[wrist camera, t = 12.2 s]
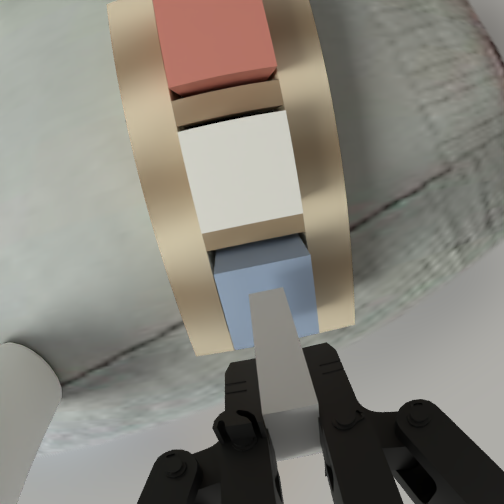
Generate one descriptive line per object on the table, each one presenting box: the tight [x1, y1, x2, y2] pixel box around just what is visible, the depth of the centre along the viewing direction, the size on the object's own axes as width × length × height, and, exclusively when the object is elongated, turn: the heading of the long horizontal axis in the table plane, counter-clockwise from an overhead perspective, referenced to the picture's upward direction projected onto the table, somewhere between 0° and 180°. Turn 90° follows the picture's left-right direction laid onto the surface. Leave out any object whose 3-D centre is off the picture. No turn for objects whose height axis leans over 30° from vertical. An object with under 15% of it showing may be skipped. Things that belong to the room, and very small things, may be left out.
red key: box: [153, 0, 277, 98], centre depth 13 cm, size 4×4×5 cm
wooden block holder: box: [107, 0, 355, 356], centre depth 17 cm, size 21×10×4 cm, turn 11°
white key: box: [177, 110, 303, 234], centre depth 15 cm, size 4×4×5 cm
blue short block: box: [214, 233, 319, 350], centre depth 18 cm, size 4×4×5 cm
